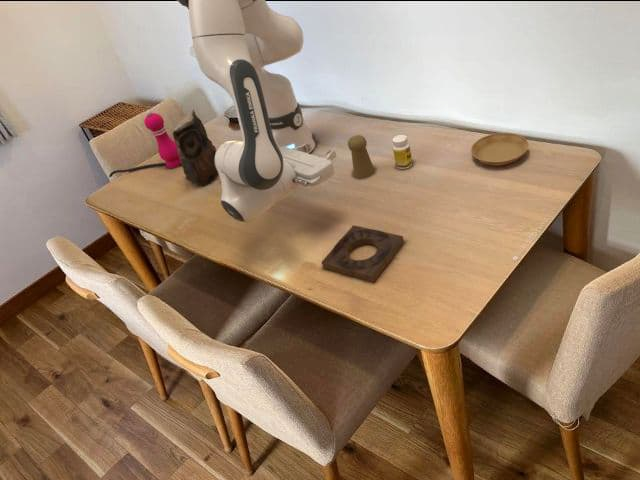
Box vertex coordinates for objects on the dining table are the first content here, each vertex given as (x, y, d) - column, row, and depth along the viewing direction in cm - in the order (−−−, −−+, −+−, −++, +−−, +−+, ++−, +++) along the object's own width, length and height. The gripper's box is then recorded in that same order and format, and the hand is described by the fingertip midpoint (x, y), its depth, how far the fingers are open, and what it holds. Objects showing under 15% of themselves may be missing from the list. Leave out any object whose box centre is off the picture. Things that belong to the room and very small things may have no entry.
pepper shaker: (353, 169, 146) (344, 135, 139) (373, 164, 146) (365, 130, 138) (354, 180, 142) (345, 145, 134) (375, 175, 141) (367, 140, 134)
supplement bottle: (411, 168, 139) (407, 142, 134) (395, 170, 141) (389, 143, 135) (413, 159, 143) (409, 133, 137) (397, 160, 144) (392, 134, 139)
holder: (322, 268, 117) (320, 262, 115) (354, 230, 124) (352, 224, 123) (374, 283, 109) (372, 276, 108) (404, 242, 117) (403, 235, 116)
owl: (221, 161, 168) (195, 105, 155) (231, 175, 159) (205, 117, 146) (185, 176, 166) (157, 121, 152) (194, 192, 157) (164, 135, 143)
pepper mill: (190, 158, 175) (163, 104, 162) (177, 169, 171) (148, 115, 158) (175, 157, 178) (147, 105, 165) (162, 168, 174) (132, 115, 161)
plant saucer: (460, 159, 137) (459, 151, 136) (496, 135, 142) (496, 127, 141) (502, 176, 127) (502, 168, 126) (540, 150, 132) (540, 141, 131)
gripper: (305, 175, 114) (346, 146, 120) (253, 157, 127) (292, 131, 133) (313, 198, 118) (352, 168, 124) (261, 178, 131) (299, 152, 137)
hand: (321, 149), depth 129 cm, fingers open, 8 cm apart
